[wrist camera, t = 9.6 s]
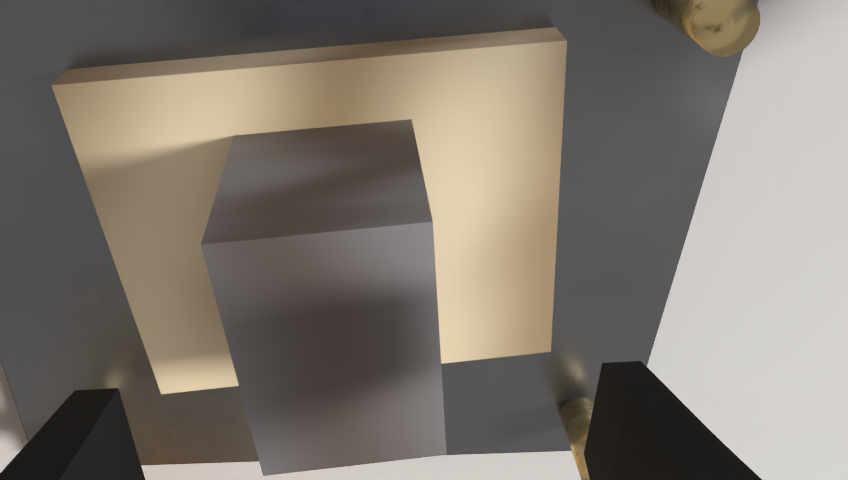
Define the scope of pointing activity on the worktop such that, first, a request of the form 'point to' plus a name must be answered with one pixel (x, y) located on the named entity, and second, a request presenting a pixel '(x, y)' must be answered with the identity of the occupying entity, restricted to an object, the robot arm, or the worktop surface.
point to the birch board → (460, 169)
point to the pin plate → (348, 25)
